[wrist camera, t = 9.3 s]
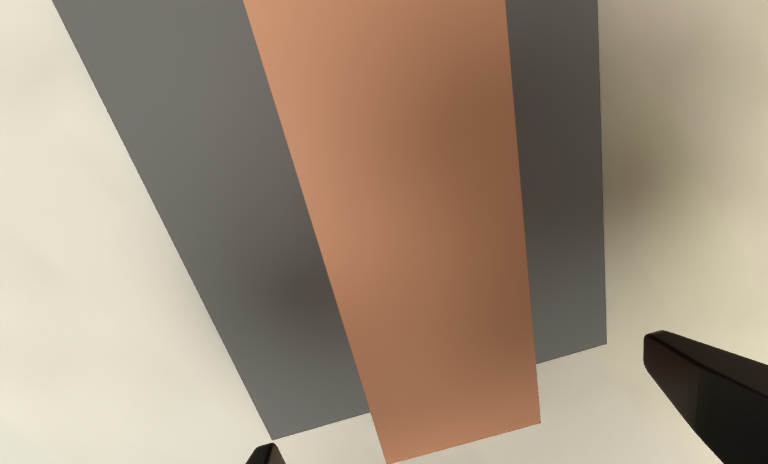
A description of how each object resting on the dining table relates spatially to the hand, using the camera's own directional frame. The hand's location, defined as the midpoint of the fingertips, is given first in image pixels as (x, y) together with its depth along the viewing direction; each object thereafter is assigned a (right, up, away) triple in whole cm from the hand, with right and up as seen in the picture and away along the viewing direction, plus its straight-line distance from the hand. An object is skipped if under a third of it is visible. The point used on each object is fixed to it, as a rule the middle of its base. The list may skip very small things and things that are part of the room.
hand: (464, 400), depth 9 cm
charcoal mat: (-1, +5, +6) cm, 8 cm away
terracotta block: (0, -2, +5) cm, 6 cm away
